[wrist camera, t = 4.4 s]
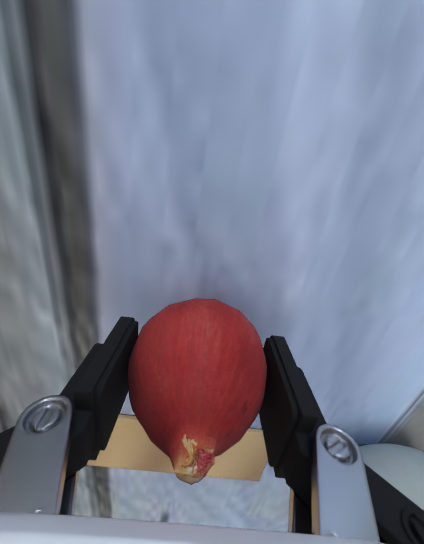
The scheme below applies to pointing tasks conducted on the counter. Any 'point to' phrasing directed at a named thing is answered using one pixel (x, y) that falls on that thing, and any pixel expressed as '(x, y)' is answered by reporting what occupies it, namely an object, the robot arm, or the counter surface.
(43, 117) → the counter surface
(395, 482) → the air freshener
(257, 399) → the onion
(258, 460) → the row strip
